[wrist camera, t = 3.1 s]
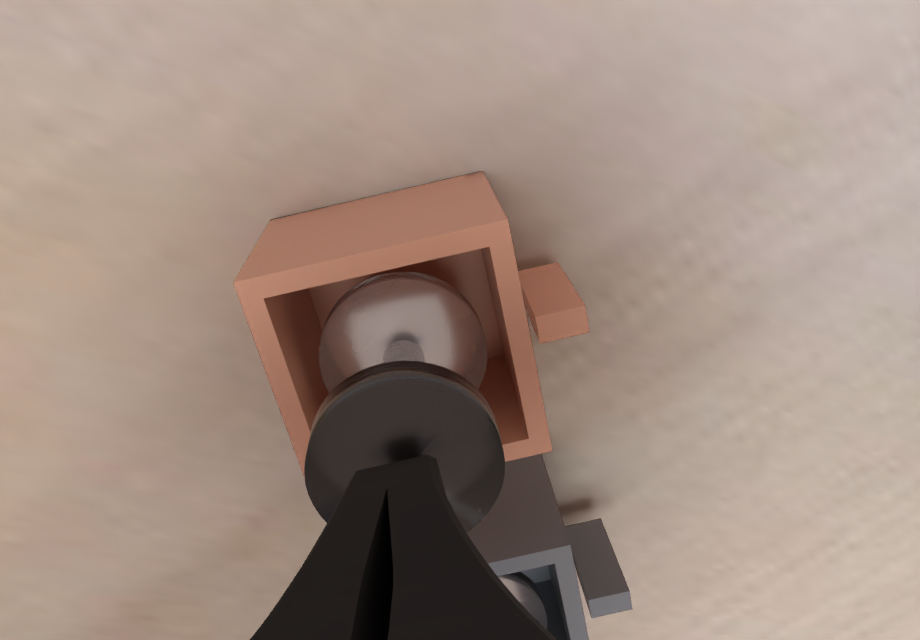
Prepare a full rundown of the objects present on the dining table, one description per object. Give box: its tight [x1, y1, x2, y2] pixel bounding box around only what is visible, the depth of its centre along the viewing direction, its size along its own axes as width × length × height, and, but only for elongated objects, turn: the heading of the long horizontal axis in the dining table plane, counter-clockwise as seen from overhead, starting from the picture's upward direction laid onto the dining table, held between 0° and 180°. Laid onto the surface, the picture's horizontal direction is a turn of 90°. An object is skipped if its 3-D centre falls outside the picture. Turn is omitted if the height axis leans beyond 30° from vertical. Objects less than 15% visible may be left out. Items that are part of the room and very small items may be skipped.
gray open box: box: [467, 454, 632, 640], centre depth 23 cm, size 6×7×5 cm
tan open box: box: [233, 171, 589, 477], centre depth 19 cm, size 6×7×5 cm
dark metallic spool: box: [304, 271, 505, 533], centre depth 15 cm, size 4×4×5 cm
